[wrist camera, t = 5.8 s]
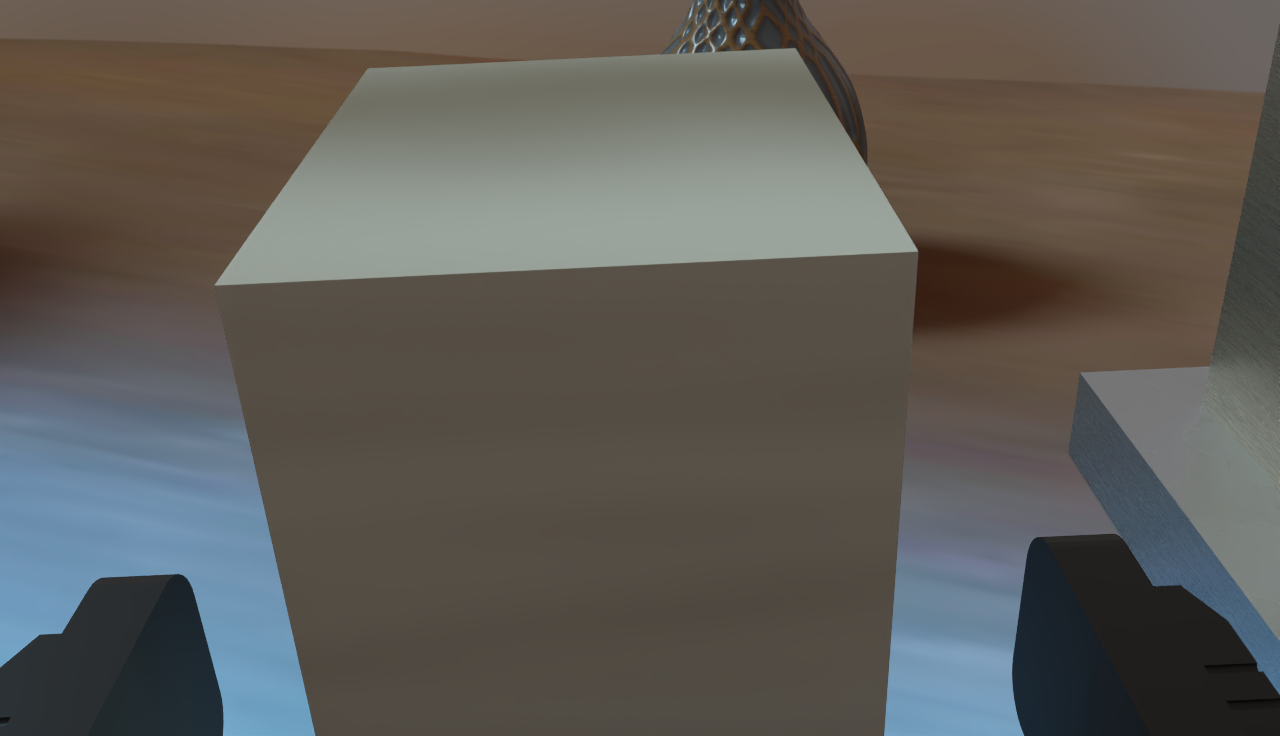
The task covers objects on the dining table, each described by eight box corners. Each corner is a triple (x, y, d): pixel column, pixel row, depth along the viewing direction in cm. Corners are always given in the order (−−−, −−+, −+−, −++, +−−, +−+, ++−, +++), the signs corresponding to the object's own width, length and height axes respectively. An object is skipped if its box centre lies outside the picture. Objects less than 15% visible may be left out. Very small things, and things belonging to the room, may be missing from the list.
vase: (900, 262, 37) (919, -36, 33) (789, 350, 32) (796, 13, 28) (709, 222, 41) (705, -50, 36) (584, 295, 36) (563, -9, 32)
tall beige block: (841, 1330, 12) (918, 251, 7) (453, 1350, 12) (212, 285, 7) (773, 876, 17) (786, 33, 12) (497, 890, 17) (378, 54, 12)
